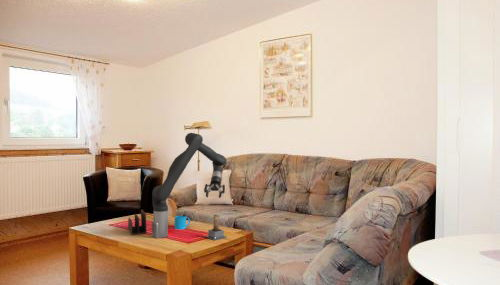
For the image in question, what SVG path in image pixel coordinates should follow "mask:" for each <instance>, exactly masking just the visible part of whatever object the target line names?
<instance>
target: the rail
mask: <svg viewBox="0 0 500 285" xmlns="http://www.w3.org/2000/svg"><path fill="white" fill-rule="evenodd" d="M212 229H213V231H215V232H216V231H219V229H220V214H213V227H212Z"/></svg>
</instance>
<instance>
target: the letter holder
mask: <svg viewBox="0 0 500 285" xmlns="http://www.w3.org/2000/svg"><path fill="white" fill-rule="evenodd" d="M127 221H128V223H127V229H128V231H129V233H130V235H131V236H135V235H136V236H137V235H146V234H147V232H148V231H147V215H146V212H145V211H144V210H143V209H141V210H140V217H139V216H138V214H136V213H135V214H134V226H133V220H132V218H130V217H128V220H127ZM140 221H141V222H140ZM140 224H141V225H140Z"/></svg>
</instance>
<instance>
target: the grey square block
mask: <svg viewBox="0 0 500 285" xmlns="http://www.w3.org/2000/svg"><path fill="white" fill-rule="evenodd" d="M207 232H208V233H207V234H208V235H205V238H206V237H207V238H206V239H209V240H212V241H218V240H223V239H224V240H225V239H227V238H228V237H227V236H226V235H225V234H224V233H225V230H224V229H221V228H219V231H216V232H215V231H213V228H211V229H208V231H207Z"/></svg>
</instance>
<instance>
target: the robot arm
mask: <svg viewBox="0 0 500 285" xmlns="http://www.w3.org/2000/svg"><path fill="white" fill-rule="evenodd" d="M203 139H204V138H203V136H202V135H201V134H198V133H195V132H188V133H187V134H186V135H185V137H184V140H185V141H184V142H185V143H186V145H188V146H187V148H186V149H185V150H184V151H182V152H181V153H180V154H178V155H177V156H176V157H175V158H174V160H173V161H172V163H171V165H170V166H169V169H168V171H167V176H166V178H165V180H164V182H162V184H161V185H156V186H155V187H154V188H153V190H152V193H151V194H152V198H151V199H152V207H153V209H152V210H153V220H152V222H151V236H152V237H153V238H154V239H163V238H167V237H168V235H169V234H168V228H169V222H168V221H169V217H168V216H169V206H168V204H167V200H168V198H169V197H170V196H171V193H172V191H173V189H174V187H175V186H176V184H177V182H178V180H179V179H180V177H181V176H182V174H183V173H184V171H185V169H186V168H187V166H188V164H190V163H189V162H190V161H191V160H192V158H193V157H194V155H195V154H196V152H197V151H198V152H200V153H201V155H203V156H204V157H206V158H207V160H209V161H210V162H212V163H211V164H212V169H213V170H212V174H211V177H210V183H209V184H207V183H205V184H204V188H203V191H204V194H205V197H206V198H209V193H210V192H214V191H215V192H217V191H218V193H219V194H218V198H219V199H220V198H222V194H225V193H226V185H225V184H222V180H223V170H224V169H223V166H225V165H227V162H228V160H227V158H226V157H225V156H224V155H223V154H220V153H217V152H216V151H215V150H213V149H212V148H211V147H210V146H208V145H206V144H205V143H203V141H204V140H203ZM221 188H222V189H221Z"/></svg>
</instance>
